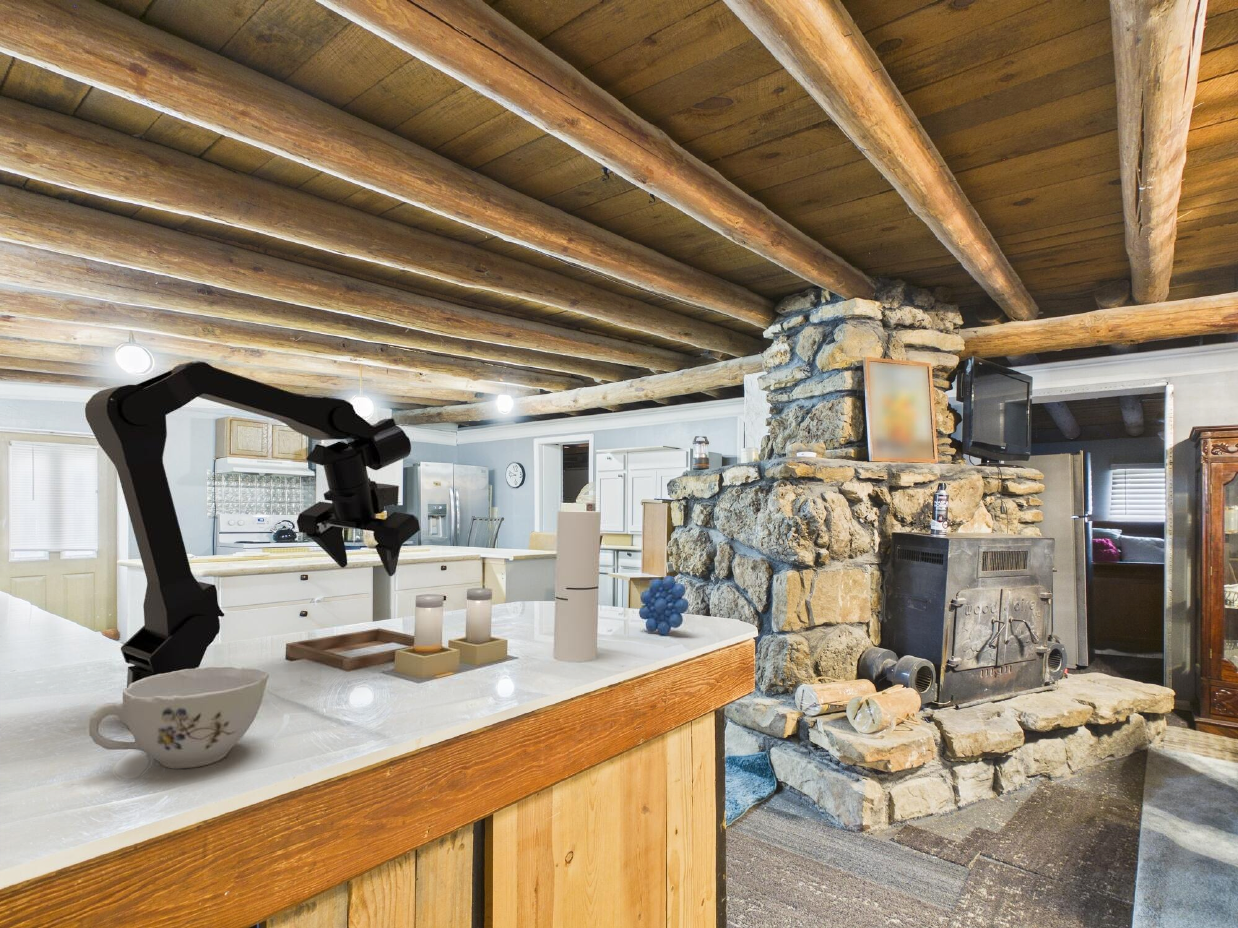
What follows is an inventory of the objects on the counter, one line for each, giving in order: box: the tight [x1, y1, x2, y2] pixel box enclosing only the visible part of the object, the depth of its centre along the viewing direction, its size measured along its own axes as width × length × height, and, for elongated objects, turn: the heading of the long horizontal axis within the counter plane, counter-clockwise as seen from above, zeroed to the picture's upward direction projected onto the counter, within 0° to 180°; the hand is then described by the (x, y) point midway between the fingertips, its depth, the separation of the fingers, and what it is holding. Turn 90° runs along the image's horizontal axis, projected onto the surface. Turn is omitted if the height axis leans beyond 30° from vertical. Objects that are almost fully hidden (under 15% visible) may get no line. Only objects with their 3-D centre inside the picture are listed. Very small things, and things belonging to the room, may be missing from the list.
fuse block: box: [379, 635, 520, 684], centre depth 105 cm, size 20×9×4 cm, turn 144°
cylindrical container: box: [553, 510, 602, 664], centre depth 113 cm, size 7×7×25 cm
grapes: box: [638, 575, 689, 636], centre depth 138 cm, size 12×7×12 cm, turn 53°
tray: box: [284, 628, 414, 672], centre depth 112 cm, size 17×17×2 cm
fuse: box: [465, 587, 493, 645], centre depth 109 cm, size 4×4×11 cm
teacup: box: [88, 666, 270, 769], centre depth 68 cm, size 15×12×8 cm
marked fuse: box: [413, 593, 444, 656], centre depth 101 cm, size 4×4×11 cm
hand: (368, 570), depth 108 cm, fingers open, 9 cm apart
